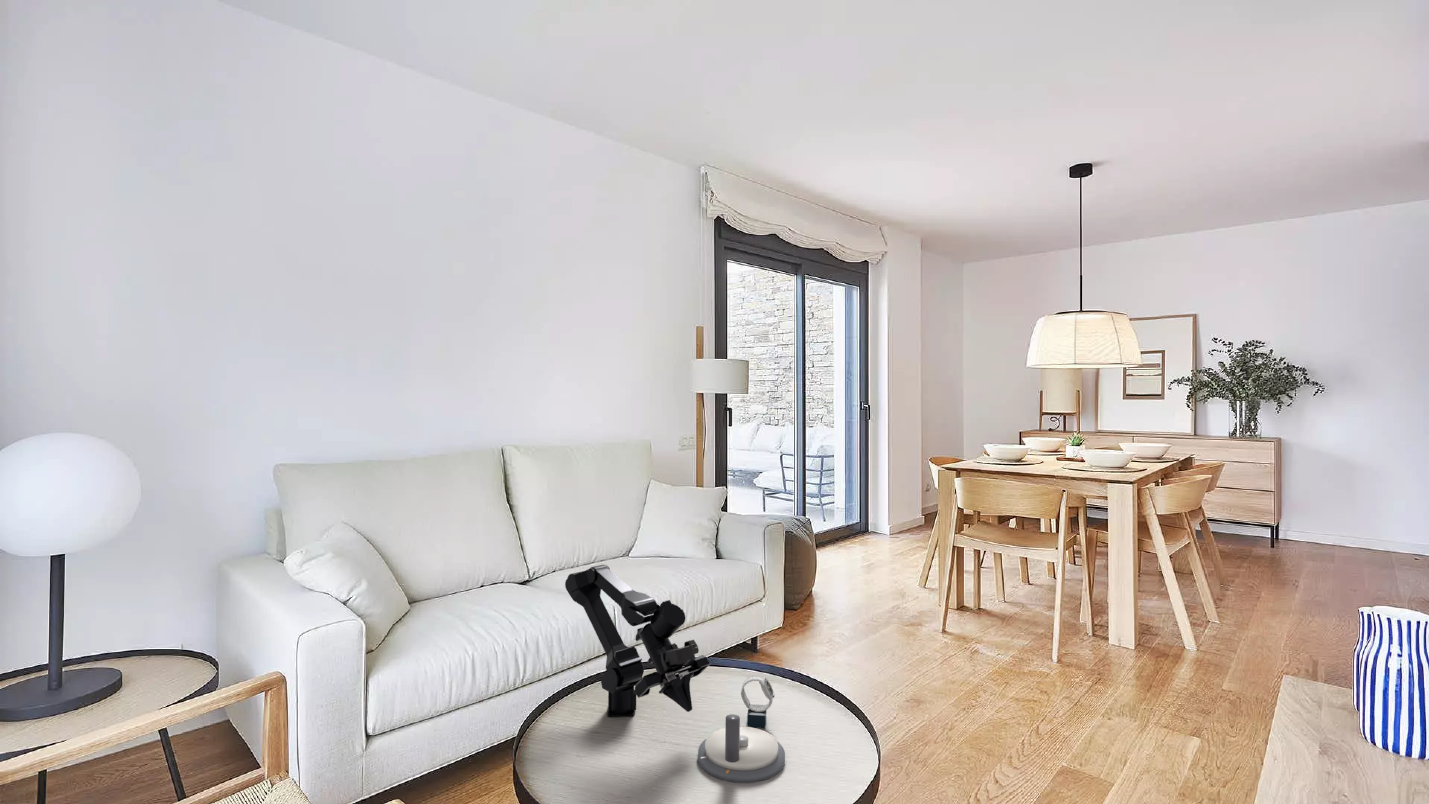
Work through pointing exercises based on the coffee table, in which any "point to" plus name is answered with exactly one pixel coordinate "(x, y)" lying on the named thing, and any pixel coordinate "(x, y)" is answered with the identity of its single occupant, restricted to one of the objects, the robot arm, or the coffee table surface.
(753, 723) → the watch
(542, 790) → the coffee table surface
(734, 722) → the dial
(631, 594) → the robot arm
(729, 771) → the dial base
